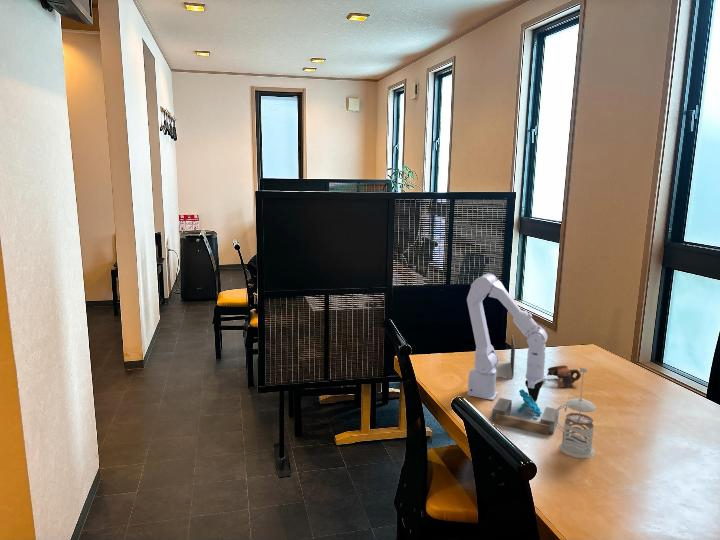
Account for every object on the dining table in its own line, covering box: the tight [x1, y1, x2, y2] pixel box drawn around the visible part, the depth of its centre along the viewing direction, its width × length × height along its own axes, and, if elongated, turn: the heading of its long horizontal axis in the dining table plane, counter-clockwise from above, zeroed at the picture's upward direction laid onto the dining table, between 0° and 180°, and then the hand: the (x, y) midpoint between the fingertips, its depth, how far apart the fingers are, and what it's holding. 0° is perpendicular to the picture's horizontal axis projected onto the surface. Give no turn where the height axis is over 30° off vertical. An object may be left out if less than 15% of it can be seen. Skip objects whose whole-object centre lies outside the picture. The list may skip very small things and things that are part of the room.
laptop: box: [495, 334, 516, 380], centre depth 215 cm, size 18×13×13 cm
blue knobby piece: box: [517, 388, 543, 416], centre depth 176 cm, size 11×6×10 cm
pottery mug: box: [546, 364, 582, 388], centre depth 201 cm, size 12×10×8 cm
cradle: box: [491, 397, 560, 436], centre depth 169 cm, size 19×12×4 cm, turn 62°
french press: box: [554, 366, 597, 459], centre depth 150 cm, size 10×12×25 cm
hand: (533, 400), depth 182 cm, fingers closed
